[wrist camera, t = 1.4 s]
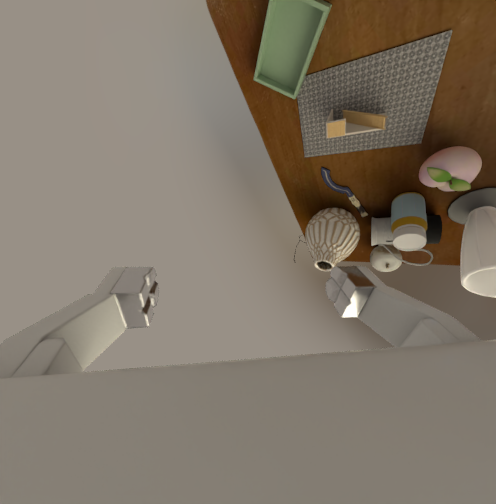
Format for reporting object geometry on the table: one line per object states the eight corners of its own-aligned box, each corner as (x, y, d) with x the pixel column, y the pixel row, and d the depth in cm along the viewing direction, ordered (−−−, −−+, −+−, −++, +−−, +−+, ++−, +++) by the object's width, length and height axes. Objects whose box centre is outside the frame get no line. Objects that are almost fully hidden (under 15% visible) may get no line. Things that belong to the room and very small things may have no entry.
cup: (435, 210, 54) (444, 279, 43) (490, 178, 44) (521, 256, 33) (472, 230, 54) (490, 303, 43) (535, 203, 44) (580, 288, 33)
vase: (314, 234, 78) (302, 277, 68) (306, 201, 67) (290, 246, 57) (362, 234, 69) (356, 284, 59) (361, 196, 59) (354, 249, 49)
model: (331, 109, 45) (325, 124, 41) (389, 96, 40) (388, 112, 36) (331, 124, 48) (325, 140, 44) (386, 114, 42) (385, 131, 38)
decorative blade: (315, 171, 58) (332, 162, 54) (316, 169, 58) (332, 160, 54) (352, 220, 66) (368, 215, 62) (352, 218, 66) (368, 213, 62)
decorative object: (372, 254, 75) (370, 277, 70) (369, 238, 70) (367, 262, 64) (402, 254, 70) (402, 279, 64) (402, 237, 64) (402, 262, 59)
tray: (278, -21, 34) (272, -19, 33) (332, 4, 34) (328, 7, 33) (258, 75, 46) (253, 80, 44) (298, 94, 46) (294, 99, 44)
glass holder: (372, 222, 66) (433, 219, 58) (371, 265, 64) (435, 268, 56) (371, 212, 59) (441, 207, 51) (370, 260, 57) (444, 263, 48)
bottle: (399, 214, 59) (399, 255, 51) (386, 198, 57) (384, 238, 49) (429, 203, 53) (435, 247, 46) (416, 185, 51) (419, 228, 43)
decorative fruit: (490, 143, 40) (504, 172, 35) (452, 178, 47) (458, 206, 42) (439, 130, 41) (445, 156, 36) (409, 166, 48) (411, 192, 43)
